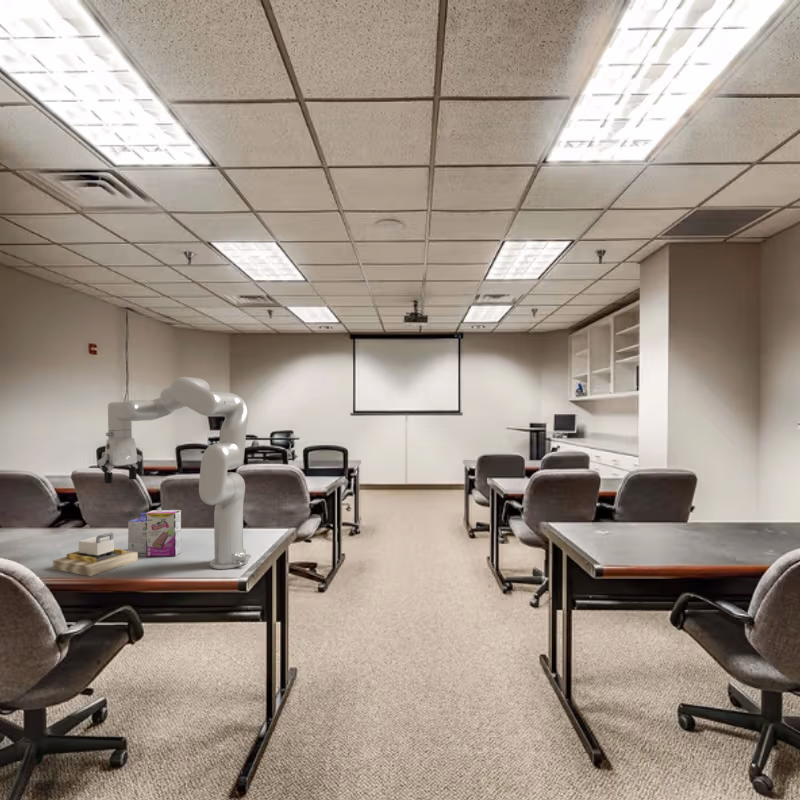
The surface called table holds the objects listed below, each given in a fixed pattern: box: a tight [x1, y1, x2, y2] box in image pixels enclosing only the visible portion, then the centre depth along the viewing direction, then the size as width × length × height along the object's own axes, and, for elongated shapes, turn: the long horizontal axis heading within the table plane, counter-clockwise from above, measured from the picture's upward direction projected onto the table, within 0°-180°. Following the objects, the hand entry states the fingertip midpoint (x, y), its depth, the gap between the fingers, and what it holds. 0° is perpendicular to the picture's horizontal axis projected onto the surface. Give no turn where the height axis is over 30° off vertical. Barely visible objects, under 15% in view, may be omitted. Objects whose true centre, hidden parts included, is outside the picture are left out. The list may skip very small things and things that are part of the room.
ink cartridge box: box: [127, 512, 147, 554], centre depth 185 cm, size 10×6×14 cm, turn 84°
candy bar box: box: [145, 509, 182, 558], centre depth 179 cm, size 11×5×16 cm, turn 90°
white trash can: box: [78, 532, 115, 559], centre depth 169 cm, size 10×6×8 cm, turn 66°
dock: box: [52, 547, 139, 577], centre depth 168 cm, size 20×17×4 cm
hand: (121, 481), depth 177 cm, fingers open, 9 cm apart
